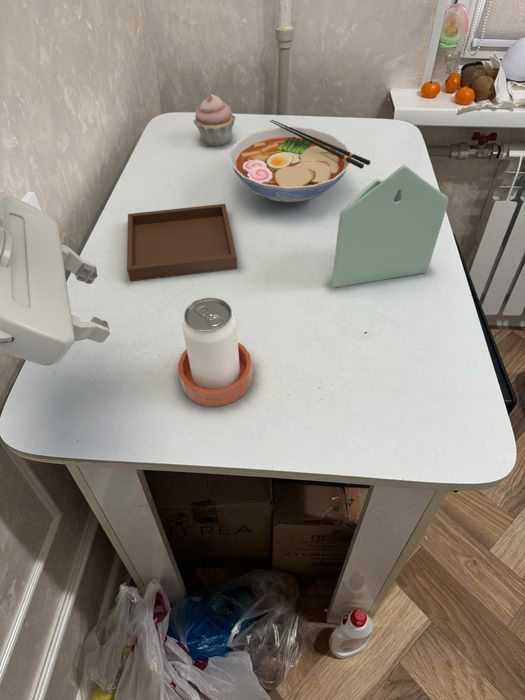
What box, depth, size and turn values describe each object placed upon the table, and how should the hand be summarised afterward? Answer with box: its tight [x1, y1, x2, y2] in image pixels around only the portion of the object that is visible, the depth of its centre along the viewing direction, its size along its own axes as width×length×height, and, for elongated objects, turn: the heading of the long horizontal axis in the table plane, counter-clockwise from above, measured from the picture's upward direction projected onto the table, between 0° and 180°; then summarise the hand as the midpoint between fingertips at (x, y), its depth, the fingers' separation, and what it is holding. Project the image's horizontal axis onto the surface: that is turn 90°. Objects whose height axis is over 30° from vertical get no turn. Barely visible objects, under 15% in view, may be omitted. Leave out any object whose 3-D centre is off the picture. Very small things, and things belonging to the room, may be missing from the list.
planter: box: [331, 164, 449, 288], centre depth 76 cm, size 16×8×20 cm, turn 102°
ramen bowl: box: [228, 119, 371, 203], centre depth 96 cm, size 25×23×8 cm
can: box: [182, 296, 240, 390], centre depth 64 cm, size 6×6×12 cm
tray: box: [126, 203, 238, 282], centre depth 86 cm, size 18×16×2 cm
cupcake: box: [192, 93, 236, 147], centre depth 109 cm, size 9×9×10 cm
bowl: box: [177, 342, 253, 408], centre depth 67 cm, size 10×10×3 cm
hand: (99, 302), depth 53 cm, fingers open, 8 cm apart
